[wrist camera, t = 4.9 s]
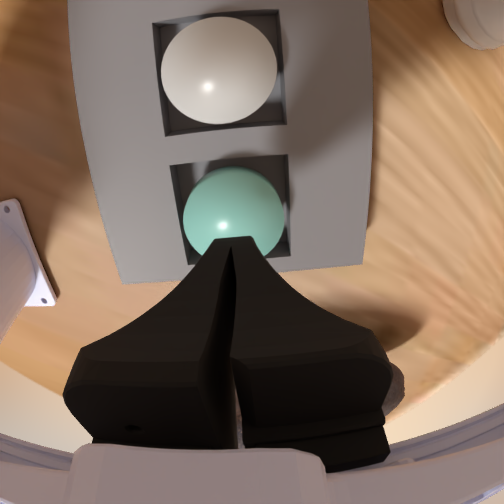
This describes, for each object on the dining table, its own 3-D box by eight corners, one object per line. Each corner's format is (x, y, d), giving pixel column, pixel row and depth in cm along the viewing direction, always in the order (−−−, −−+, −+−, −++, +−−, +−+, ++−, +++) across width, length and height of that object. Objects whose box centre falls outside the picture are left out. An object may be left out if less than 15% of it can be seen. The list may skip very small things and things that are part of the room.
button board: (131, 264, 18) (122, 284, 17) (85, -65, 8) (70, -76, 6) (351, 245, 18) (362, 264, 17) (337, -92, 8) (349, -107, 6)
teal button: (194, 255, 16) (191, 269, 15) (180, 171, 14) (175, 180, 13) (282, 248, 16) (285, 261, 15) (279, 162, 14) (282, 169, 13)
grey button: (173, 126, 13) (168, 130, 12) (162, 30, 11) (156, 25, 10) (276, 115, 13) (280, 119, 12) (269, 18, 11) (272, 13, 10)
